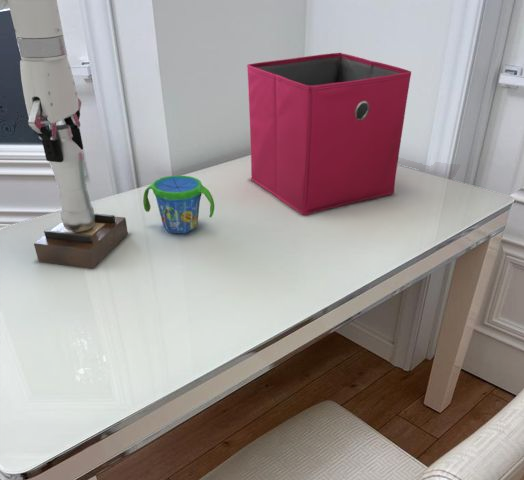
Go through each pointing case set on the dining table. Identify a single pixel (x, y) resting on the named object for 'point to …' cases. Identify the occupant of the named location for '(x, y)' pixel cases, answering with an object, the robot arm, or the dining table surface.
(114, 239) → the brown wooden base
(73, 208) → the silver metal bottle
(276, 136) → the storage bin
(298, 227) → the dining table surface
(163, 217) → the snack cup
